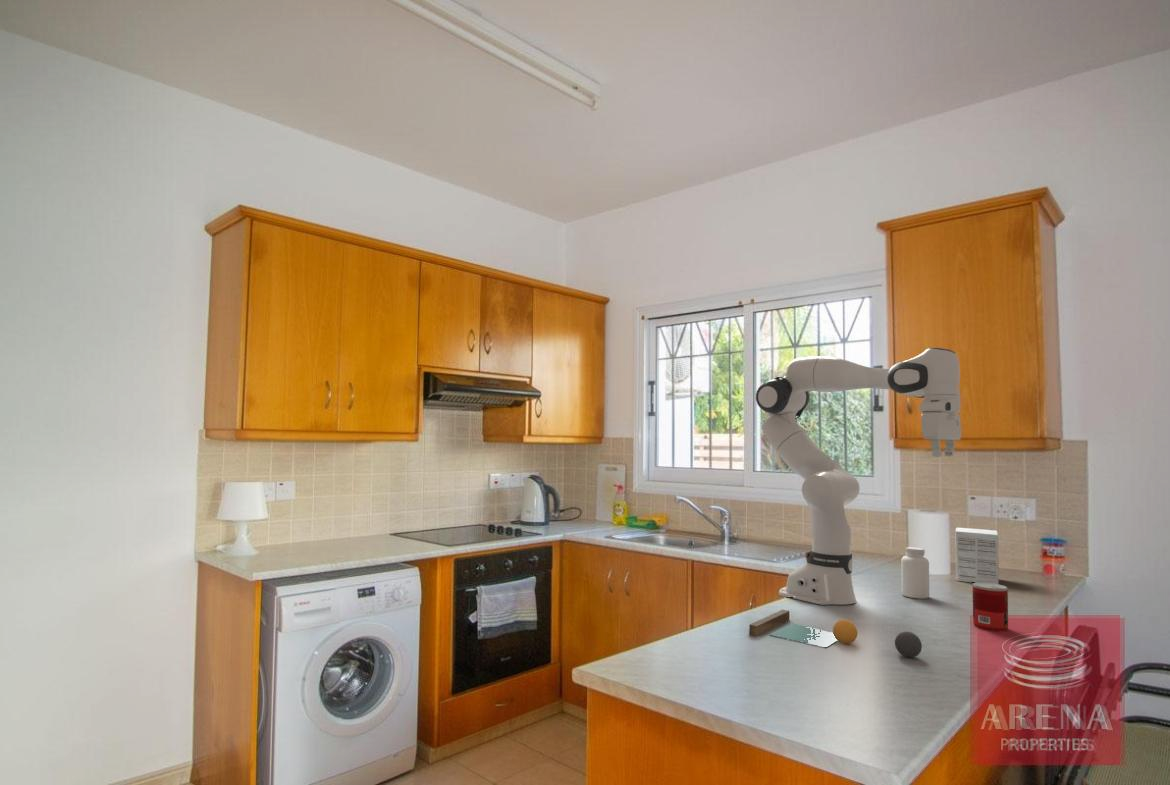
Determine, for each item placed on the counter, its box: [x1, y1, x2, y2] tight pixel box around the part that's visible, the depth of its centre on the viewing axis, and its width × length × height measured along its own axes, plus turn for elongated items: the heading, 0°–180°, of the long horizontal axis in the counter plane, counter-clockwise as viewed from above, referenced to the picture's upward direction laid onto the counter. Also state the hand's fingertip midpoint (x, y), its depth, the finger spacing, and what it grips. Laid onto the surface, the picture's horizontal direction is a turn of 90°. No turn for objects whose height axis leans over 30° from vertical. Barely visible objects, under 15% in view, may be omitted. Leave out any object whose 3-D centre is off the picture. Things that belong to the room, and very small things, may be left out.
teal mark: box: [769, 623, 821, 644], centre depth 166 cm, size 14×14×1 cm
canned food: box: [972, 582, 1009, 632], centre depth 177 cm, size 8×8×11 cm
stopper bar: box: [748, 609, 790, 638], centre depth 172 cm, size 2×20×2 cm, turn 140°
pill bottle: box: [900, 546, 930, 600], centre depth 211 cm, size 8×8×15 cm
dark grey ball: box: [894, 631, 923, 658], centre depth 151 cm, size 6×6×6 cm
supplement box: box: [954, 527, 1000, 585], centre depth 239 cm, size 13×13×18 cm
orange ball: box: [832, 619, 858, 645], centre depth 160 cm, size 6×6×6 cm
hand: (943, 456), depth 183 cm, fingers open, 8 cm apart
